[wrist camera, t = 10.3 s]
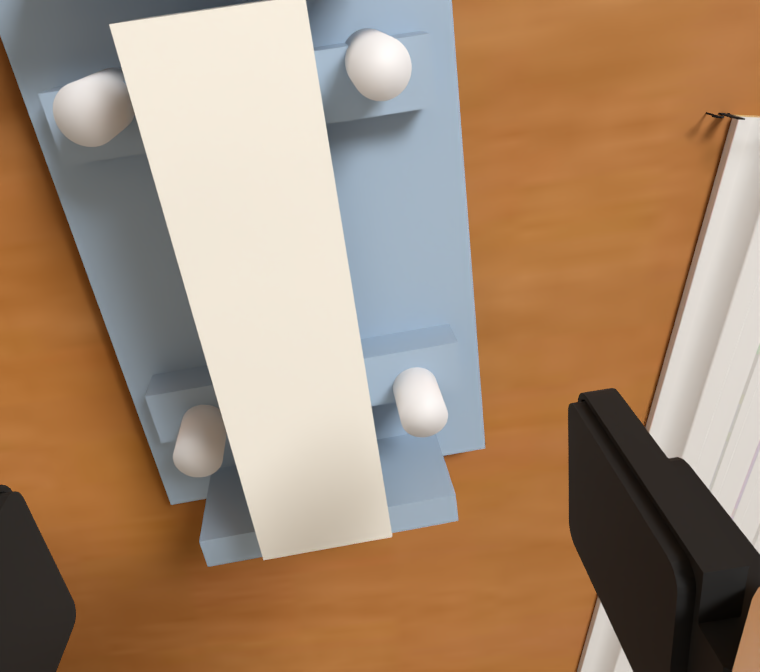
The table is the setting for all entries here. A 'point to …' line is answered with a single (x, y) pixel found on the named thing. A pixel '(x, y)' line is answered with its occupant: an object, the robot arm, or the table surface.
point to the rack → (359, 222)
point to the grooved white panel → (712, 362)
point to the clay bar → (263, 260)
